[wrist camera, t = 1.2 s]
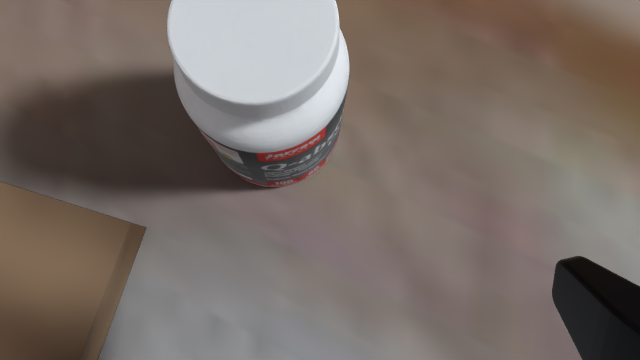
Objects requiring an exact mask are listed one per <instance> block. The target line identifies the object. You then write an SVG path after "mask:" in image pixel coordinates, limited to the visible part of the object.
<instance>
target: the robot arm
mask: <svg viewBox="0 0 640 360" xmlns="http://www.w3.org/2000/svg"><path fill="white" fill-rule="evenodd" d="M552 297H553V301H554V304H555V306H556V308H557V310H558V312H559V314H560V316H561V318H562V320H563V322H564V324H565V326H566V328H567V330H568V332H569V334H570V336H571V338H572V340H573V342H574V344H575V346H576V348H577V350H578V352H579V354H580V356H581V358H582V360H640V286H638V285H636V284H634V283H632V282H630V281H628V280H627V279H625V278H623V277H621V276H619V275H617V274H615V273H613V272H611V271H609V270H608V269H606V268H604V267H602V266H600V265H598V264H596V263H594V262H592V261H590V260H589V259H587V258H585V257H581V256H575V257H571V258H567V259H563V260H560V261H558V263H557V264H556V268H555V274H554V281H553V288H552Z"/></svg>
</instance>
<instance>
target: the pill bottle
mask: <svg viewBox="0 0 640 360" xmlns="http://www.w3.org/2000/svg"><path fill="white" fill-rule="evenodd" d="M167 37H168V43H169V48H170V50H171V53H172V56H173V58H174V78H175V84H176V88H177V92H178V95H179V98H180V100H181V102H182V104H183V106H184V108H185V110H186V112H187V114H188V115H189V117H190V118H191V120H192V121H193V122H194V123H195V125H196V126H197V128H198V129H199V130H200V132H201V133H202V134H203V136H204V137H205V138H206V140H207V141H208V143H209V144H210V145H211V147H212V148H213V149H214V151H215V152H216V153H217V155H218V156H219V158H220V159H221V160H222V162H223V163H224V164H225V165H226V166H227V167H228V168H229V169H230V170H231V171H232V172H233V173H235V174H236V175H237V176H239V177H241V178H242V179H244V180H246V181H248V182H251V183H253V184H257V185H260V186H266V187H282V186H288V185H292V184H295V183H298V182H301V181H303V180H305V179H307V178H309V177H310V176H312V175H313V174H314V173H316V172H317V171H318V170H319V169H320V168H321V167H322V166H323V165H324V164H325V163H326V161H327V160H328V159H329V157H330V156H331V154H332V152H333V150H334V148H335V146H336V143H337V140H338V136H339V131H340V126H341V120H342V114H343V109H344V103H345V98H346V93H347V87H348V81H349V57H348V51H347V46H346V43H345V40H344V37H343V34H342V32H341V30H340V28H339V15H338V9H337V4H336V1H335V0H172V1H171V4H170V7H169V11H168V17H167Z"/></svg>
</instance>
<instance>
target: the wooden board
mask: <svg viewBox="0 0 640 360" xmlns="http://www.w3.org/2000/svg"><path fill="white" fill-rule="evenodd" d="M145 230H146V227H143V226H140V225H137V224H134V223H130V222H127V221H124V220H121V219H118V218H114V217H111V216H108V215H105V214H102V213H98V212H95V211H92V210H89V209H86V208H83V207H79V206H76V205H73V204H70V203H67V202H63V201H60V200H57V199H54V198H51V197H47V196H44V195H41V194H38V193H35V192H32V191H28V190H25V189H22V188H19V187H16V186H12V185H9V184H6V183H3V182H0V360H98V357H99V355H100V352H101V349H102V347H103V344H104V341H105V338H106V336H107V333H108V330H109V328H110V325H111V322H112V319H113V317H114V314H115V311H116V309H117V306H118V303H119V301H120V298H121V295H122V292H123V290H124V287H125V284H126V282H127V279H128V276H129V273H130V271H131V268H132V265H133V263H134V260H135V257H136V254H137V252H138V249H139V246H140V244H141V241H142V238H143V236H144V233H145Z"/></svg>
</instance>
